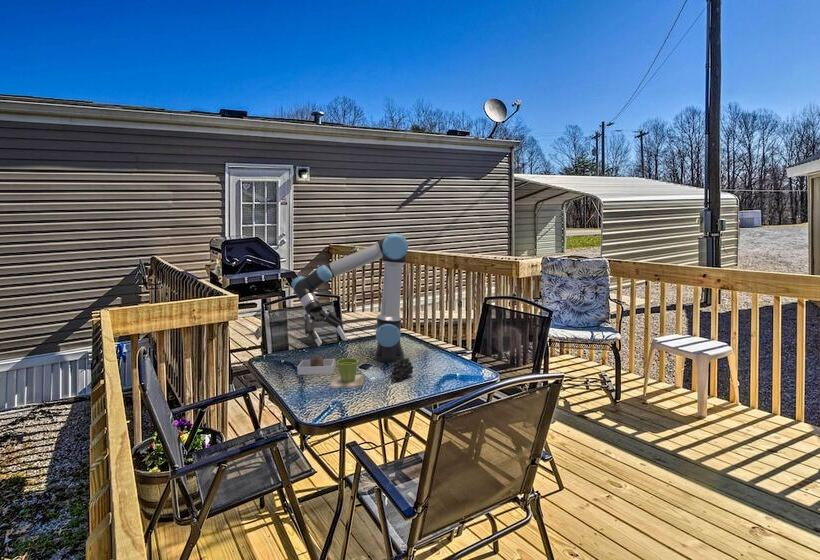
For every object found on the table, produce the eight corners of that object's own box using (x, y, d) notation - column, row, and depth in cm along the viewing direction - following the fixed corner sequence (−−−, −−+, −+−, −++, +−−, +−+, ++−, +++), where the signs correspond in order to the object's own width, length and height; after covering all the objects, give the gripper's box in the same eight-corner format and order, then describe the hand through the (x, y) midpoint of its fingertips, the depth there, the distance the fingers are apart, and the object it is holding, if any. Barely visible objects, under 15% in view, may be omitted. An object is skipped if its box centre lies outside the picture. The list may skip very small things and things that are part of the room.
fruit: (394, 363, 212) (412, 354, 225) (379, 367, 217) (398, 357, 229) (400, 383, 212) (418, 372, 225) (385, 385, 217) (404, 375, 229)
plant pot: (355, 384, 212) (354, 364, 210) (334, 383, 213) (333, 363, 212) (361, 377, 221) (360, 358, 220) (341, 376, 222) (340, 357, 221)
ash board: (364, 376, 224) (364, 374, 224) (362, 387, 210) (362, 385, 210) (333, 377, 224) (333, 375, 224) (329, 388, 210) (329, 386, 210)
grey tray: (335, 367, 239) (335, 358, 238) (332, 375, 227) (332, 366, 226) (302, 368, 238) (302, 359, 238) (297, 376, 226) (297, 367, 226)
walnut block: (323, 368, 235) (322, 356, 234) (321, 371, 230) (321, 359, 229) (312, 368, 235) (312, 356, 234) (310, 372, 230) (310, 359, 229)
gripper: (329, 306, 241) (350, 340, 233) (285, 314, 223) (306, 351, 215) (336, 296, 237) (357, 331, 228) (291, 304, 219) (312, 342, 211)
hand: (332, 341), depth 222 cm, fingers open, 13 cm apart
